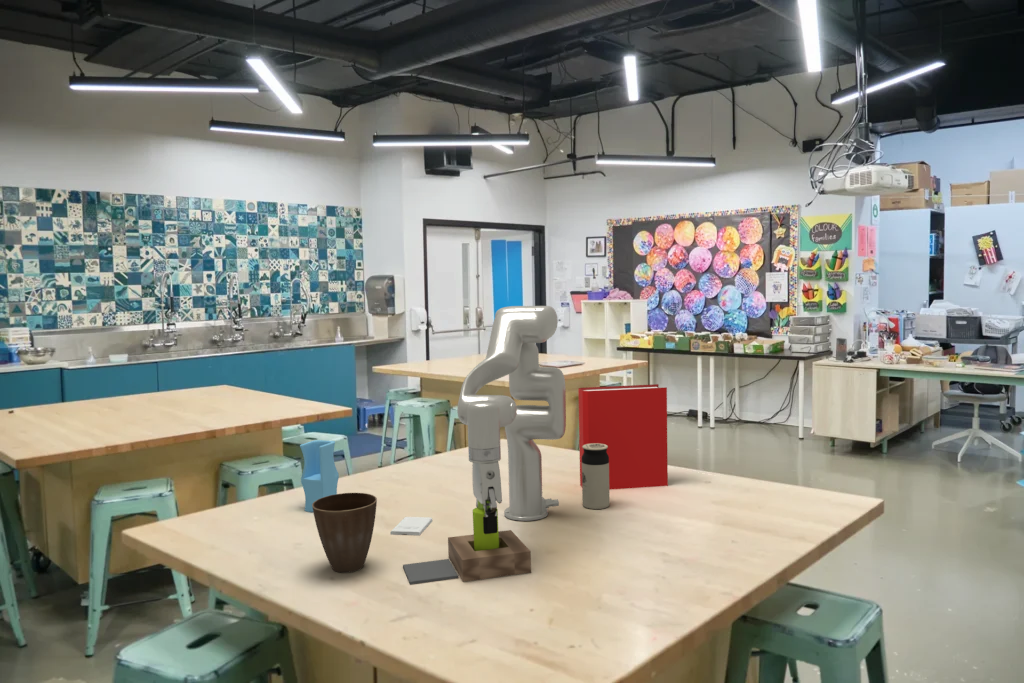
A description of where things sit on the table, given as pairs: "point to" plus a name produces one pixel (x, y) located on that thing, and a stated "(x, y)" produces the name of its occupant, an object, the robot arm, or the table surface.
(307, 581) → the table surface
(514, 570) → the socket block
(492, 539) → the soap dispenser
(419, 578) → the rubber mat
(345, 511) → the plant pot
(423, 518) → the external hard drive
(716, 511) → the table surface
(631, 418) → the book
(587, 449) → the travel mug
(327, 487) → the light blue angular piece
